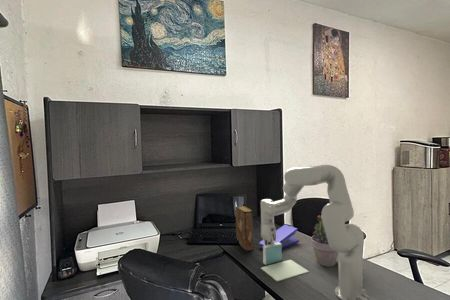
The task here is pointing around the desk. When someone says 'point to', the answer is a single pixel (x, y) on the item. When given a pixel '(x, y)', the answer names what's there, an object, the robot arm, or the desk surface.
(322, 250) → the potted plant
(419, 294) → the desk surface
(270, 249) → the tile
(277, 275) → the desk mat
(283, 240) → the stapler
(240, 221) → the book
